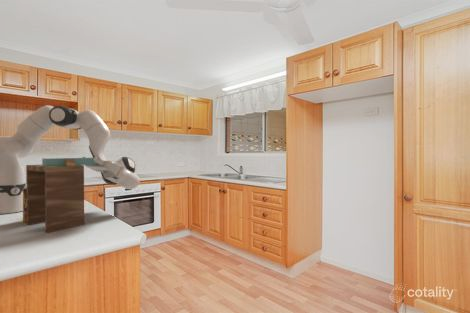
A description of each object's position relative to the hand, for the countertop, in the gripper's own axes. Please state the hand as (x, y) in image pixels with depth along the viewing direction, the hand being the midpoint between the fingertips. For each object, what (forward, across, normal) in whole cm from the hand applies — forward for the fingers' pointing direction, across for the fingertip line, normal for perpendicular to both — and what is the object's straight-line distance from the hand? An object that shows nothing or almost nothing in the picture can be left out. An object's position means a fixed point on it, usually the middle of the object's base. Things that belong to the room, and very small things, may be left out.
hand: (87, 158), depth 115 cm
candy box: (-3, -20, +32) cm, 38 cm away
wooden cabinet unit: (-5, -5, +31) cm, 31 cm away
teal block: (+4, 0, +6) cm, 7 cm away
